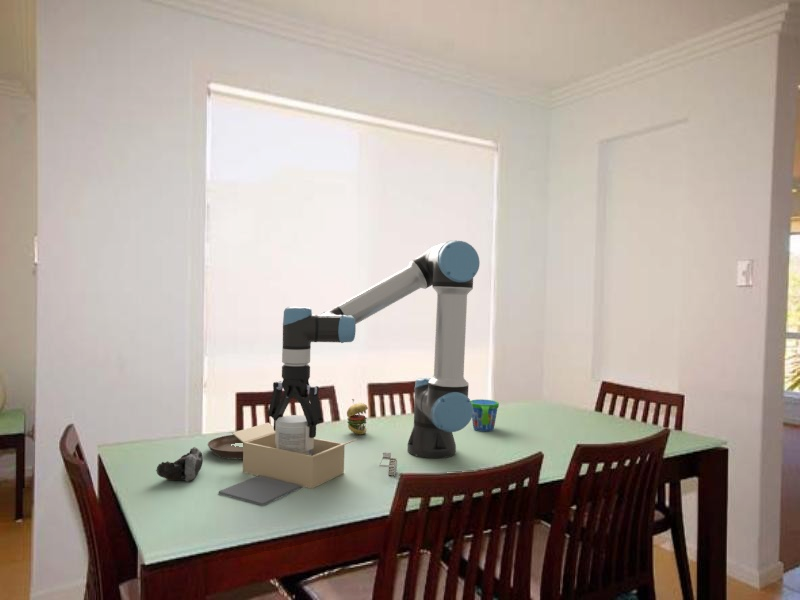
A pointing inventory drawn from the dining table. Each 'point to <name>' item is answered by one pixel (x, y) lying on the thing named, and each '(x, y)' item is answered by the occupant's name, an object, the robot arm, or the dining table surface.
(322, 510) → the dining table surface
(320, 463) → the carton
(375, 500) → the dining table surface
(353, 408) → the hamburger
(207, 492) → the dining table surface
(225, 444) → the plant saucer
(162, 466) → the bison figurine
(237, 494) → the mat
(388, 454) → the staircase
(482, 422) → the snack cup
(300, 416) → the supplement tub
